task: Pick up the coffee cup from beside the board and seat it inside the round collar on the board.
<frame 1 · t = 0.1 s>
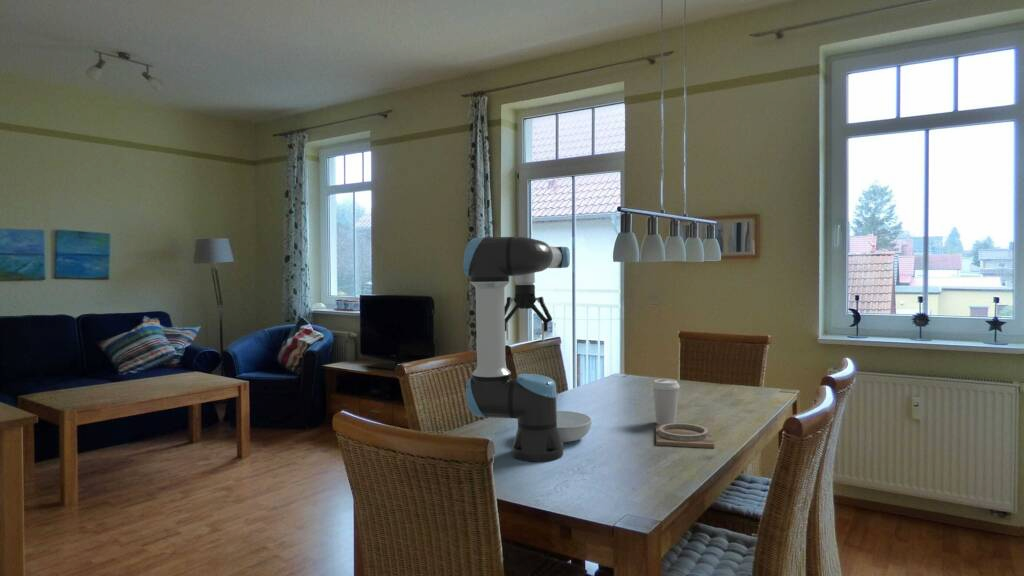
hand: (525, 340, 230), 28 cm above the table, tool pointing down, fingers open, 13 cm apart
coffee cup: (666, 424, 212), on the table
carrier board: (683, 437, 195), on the table
serving bowl: (559, 439, 196), on the table
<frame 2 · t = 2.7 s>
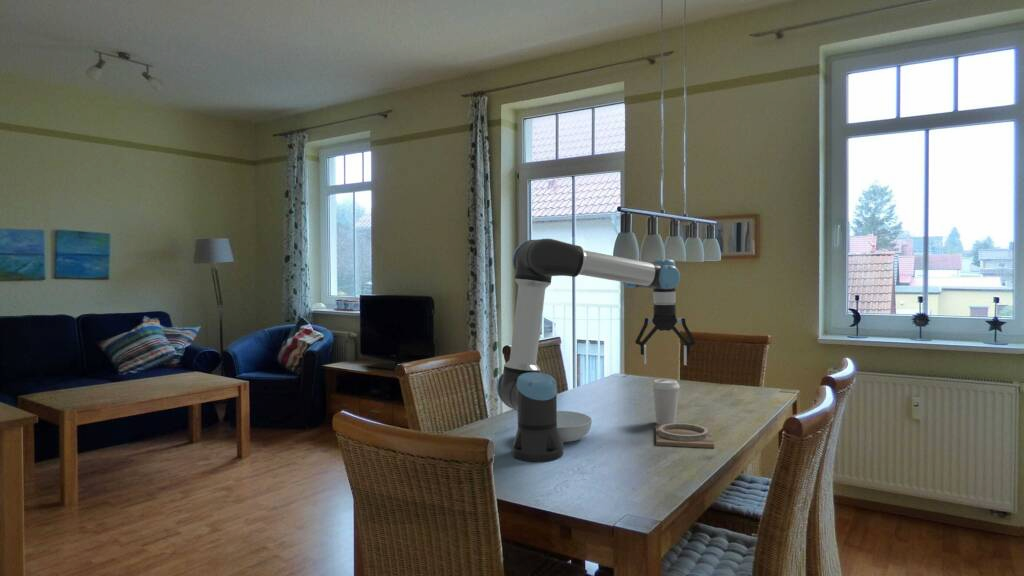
hand: (665, 364, 212), 21 cm above the table, tool pointing down, fingers open, 13 cm apart
nothing on the table moved.
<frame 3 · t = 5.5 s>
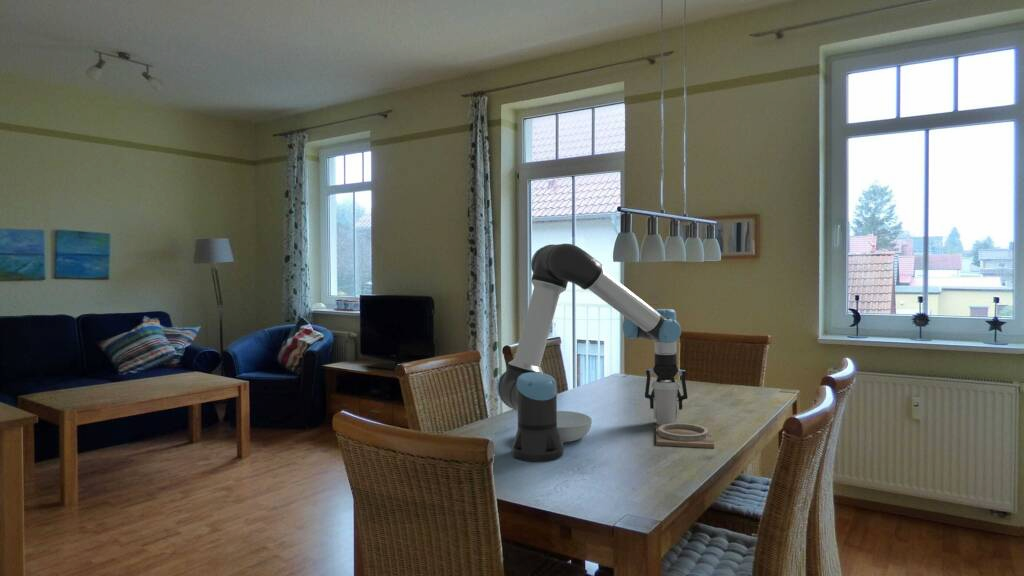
hand: (666, 418, 212), 2 cm above the table, tool pointing down, fingers closed on coffee cup, 7 cm apart
coffee cup: (665, 424, 212), on the table, touching gripper
everything else where it was.
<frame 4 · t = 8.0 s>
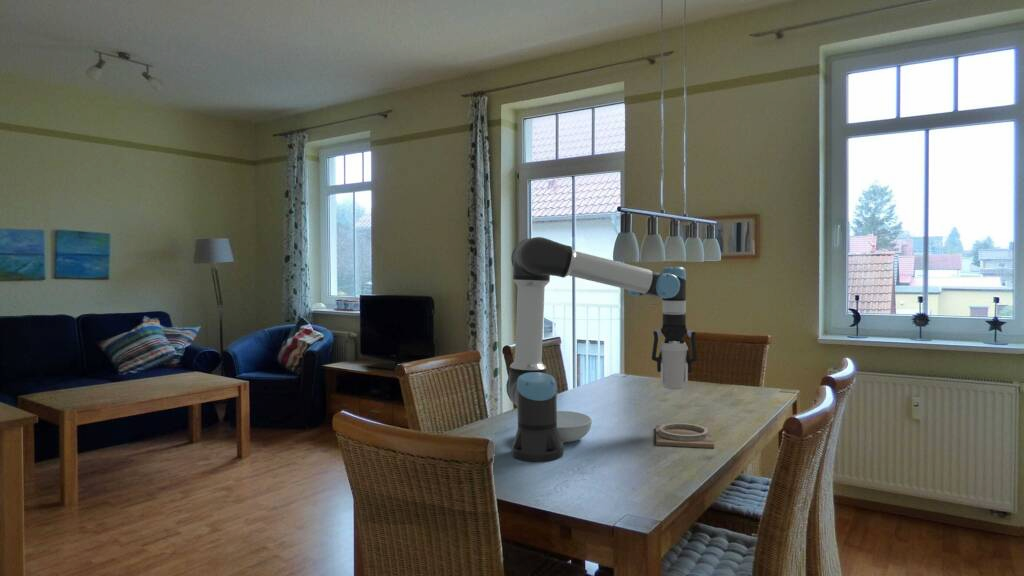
hand: (673, 381, 202), 17 cm above the table, tool pointing down, fingers closed on coffee cup, 7 cm apart
coffee cup: (673, 388, 202), point 15 cm above the table, touching gripper
everything else where it was.
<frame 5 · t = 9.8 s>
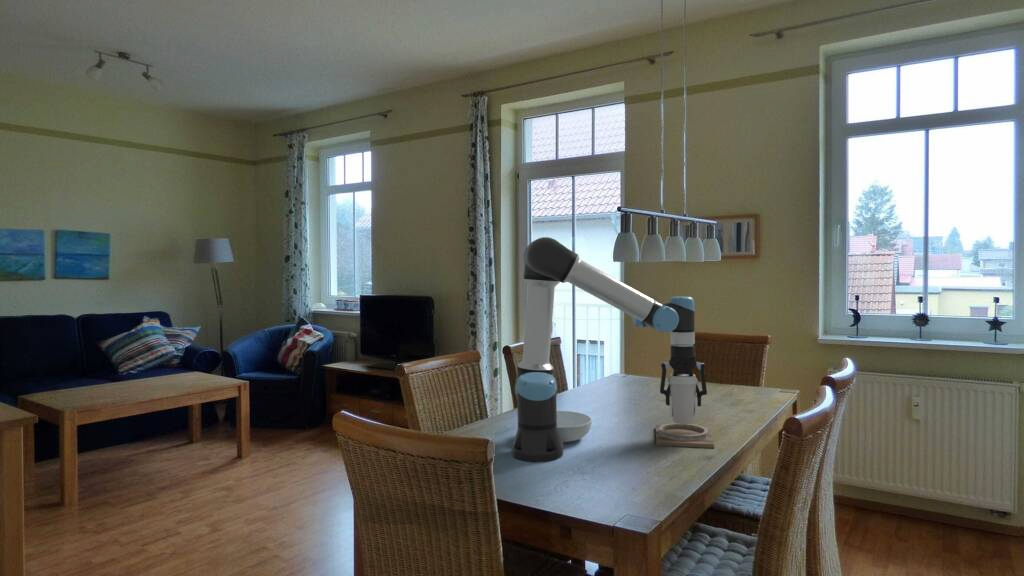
hand: (683, 415, 194), 7 cm above the table, tool pointing down, fingers closed on coffee cup, 7 cm apart
coffee cup: (683, 422, 194), point 5 cm above the table, touching gripper
everything else where it was.
when the fingers open (5 cm above the table, at t = 10.9 s): coffee cup drops 2 cm, resting on carrier board.
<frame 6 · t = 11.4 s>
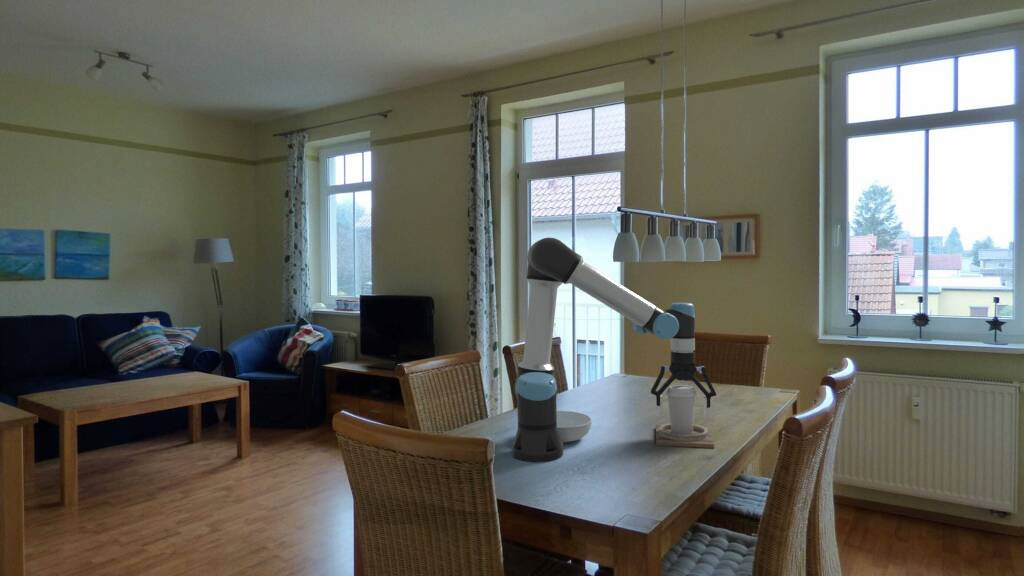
hand: (683, 416, 194), 7 cm above the table, tool pointing down, fingers open, 13 cm apart
coffee cup: (682, 434, 195), point 1 cm above the table, touching carrier board
everything else where it was.
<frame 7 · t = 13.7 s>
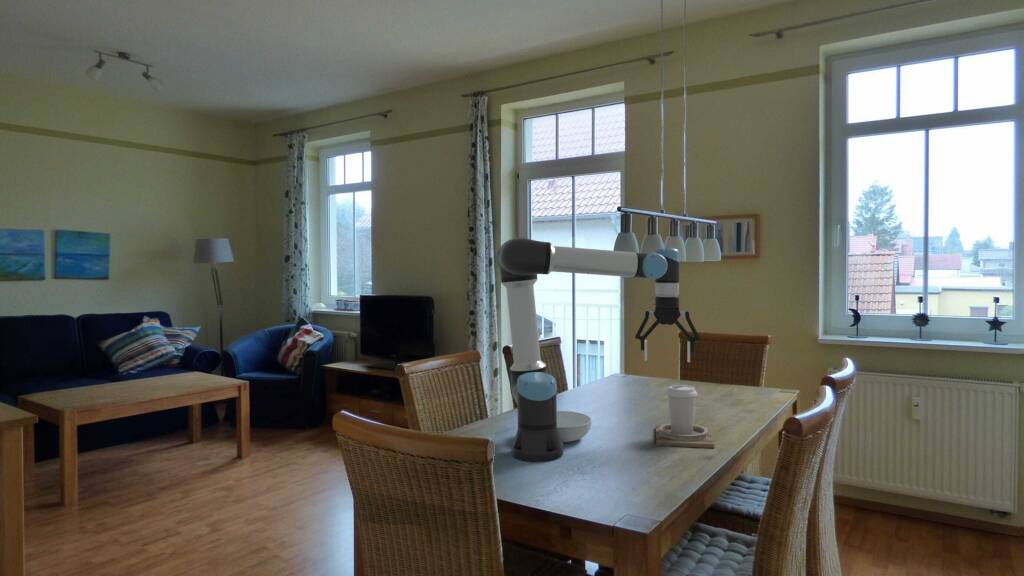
hand: (666, 361, 197), 24 cm above the table, tool pointing down, fingers open, 13 cm apart
nothing on the table moved.
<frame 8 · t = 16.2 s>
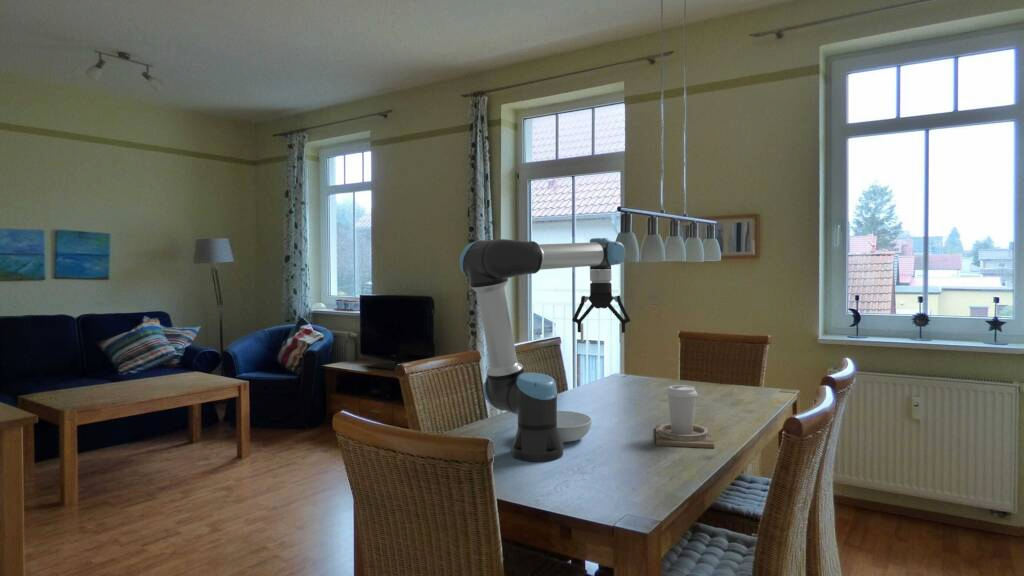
hand: (601, 342, 214), 29 cm above the table, tool pointing down, fingers open, 13 cm apart
nothing on the table moved.
at the end: coffee cup 0.4 cm off-centre on the carrier board, point 1.0 cm above the carrier board's base; coffee cup tilted 0°; the gripper is holding nothing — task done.
